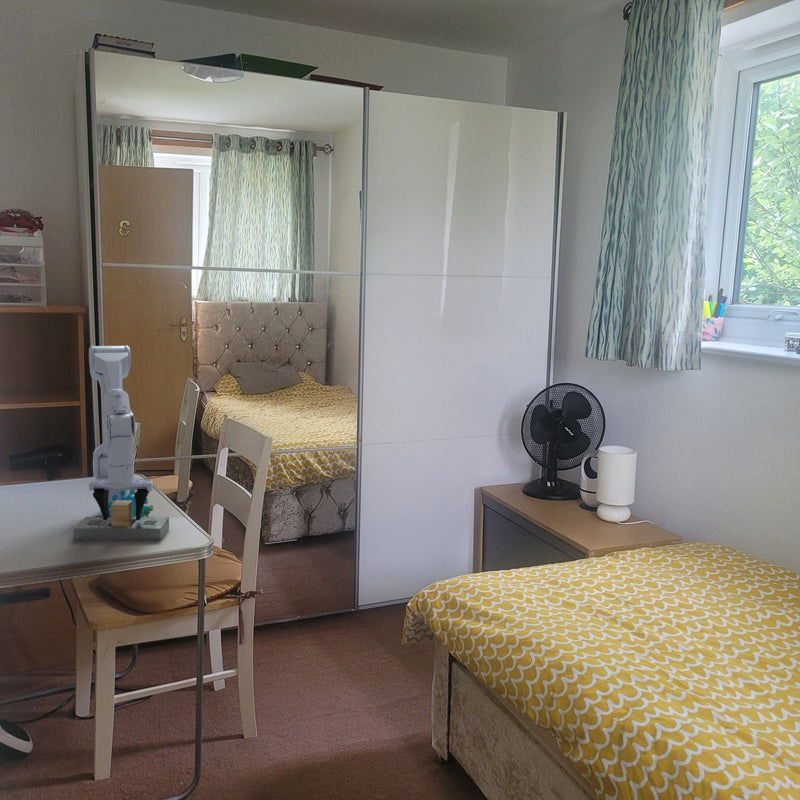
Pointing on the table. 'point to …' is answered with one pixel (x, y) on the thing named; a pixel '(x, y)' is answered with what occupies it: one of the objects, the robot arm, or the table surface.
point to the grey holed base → (121, 529)
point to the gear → (145, 510)
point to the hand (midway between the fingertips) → (122, 518)
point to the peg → (122, 513)
